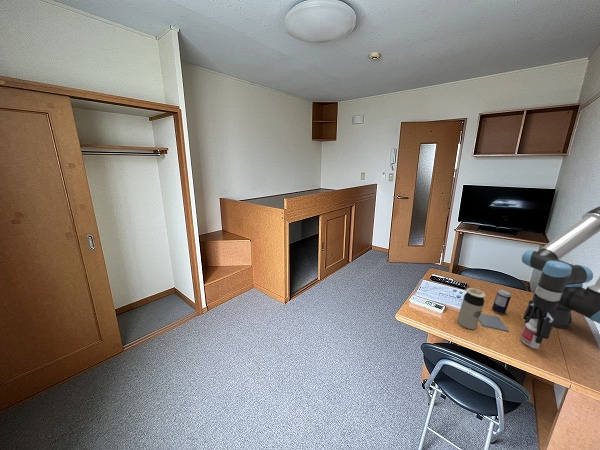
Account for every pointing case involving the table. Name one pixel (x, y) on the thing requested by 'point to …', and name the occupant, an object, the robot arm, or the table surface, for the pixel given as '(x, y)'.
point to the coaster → (492, 322)
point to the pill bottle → (529, 331)
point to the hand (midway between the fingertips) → (529, 341)
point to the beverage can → (501, 301)
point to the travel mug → (471, 308)
